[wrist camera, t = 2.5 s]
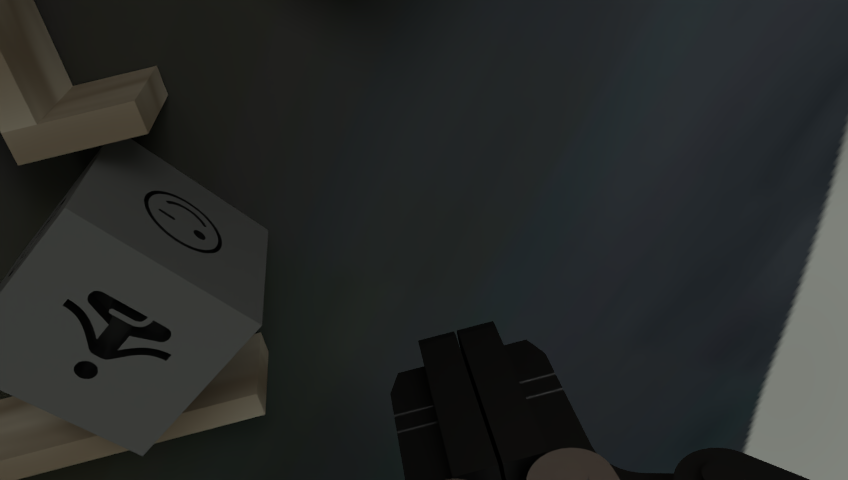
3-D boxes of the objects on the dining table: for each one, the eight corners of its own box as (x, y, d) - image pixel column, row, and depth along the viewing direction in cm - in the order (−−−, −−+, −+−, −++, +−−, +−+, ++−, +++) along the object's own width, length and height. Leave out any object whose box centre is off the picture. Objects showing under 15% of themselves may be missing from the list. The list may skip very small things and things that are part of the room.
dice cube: (268, 229, 22) (261, 325, 17) (171, 340, 23) (142, 456, 18) (116, 127, 19) (64, 207, 15) (18, 257, 21) (-55, 365, 16)
